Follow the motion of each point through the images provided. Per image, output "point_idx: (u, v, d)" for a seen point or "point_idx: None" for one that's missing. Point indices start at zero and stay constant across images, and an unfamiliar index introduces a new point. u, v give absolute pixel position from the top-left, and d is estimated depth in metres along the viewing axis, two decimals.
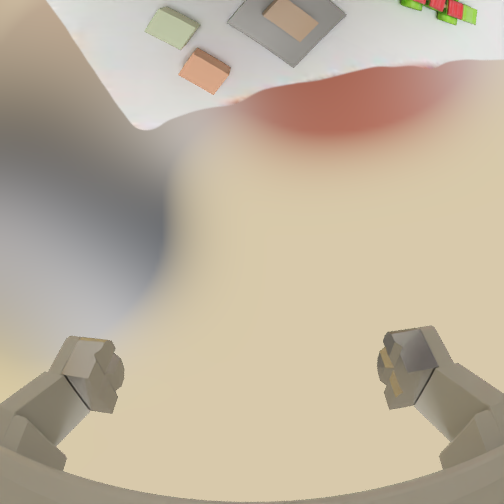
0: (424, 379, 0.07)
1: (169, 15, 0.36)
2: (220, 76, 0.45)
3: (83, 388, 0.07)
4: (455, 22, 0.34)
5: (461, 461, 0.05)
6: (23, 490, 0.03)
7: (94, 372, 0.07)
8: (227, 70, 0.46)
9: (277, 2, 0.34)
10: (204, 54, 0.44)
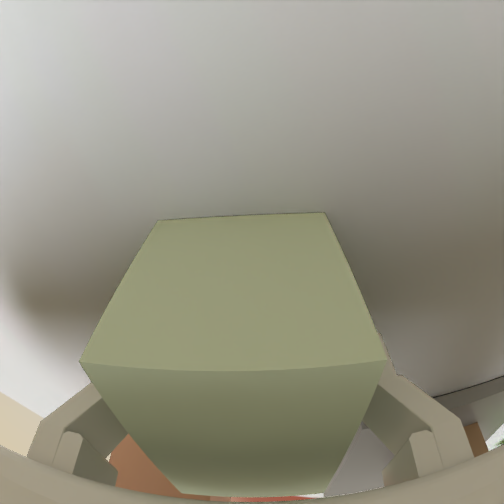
0: None
1: (347, 430, 0.05)
2: None
3: None
4: None
5: (398, 481, 0.05)
6: (23, 490, 0.03)
7: None
8: (229, 498, 0.14)
9: None
10: None
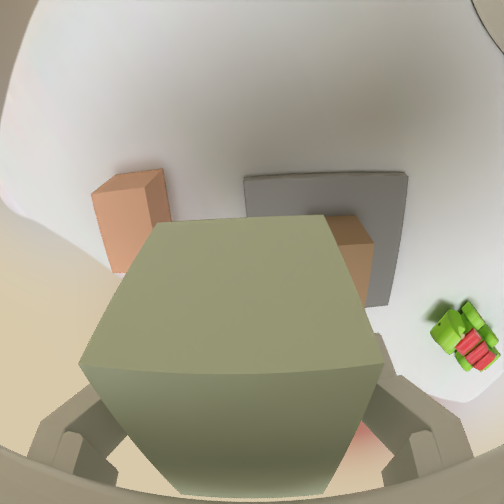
0: None
1: (345, 433, 0.05)
2: None
3: None
4: None
5: (398, 481, 0.05)
6: (23, 490, 0.03)
7: None
8: None
9: (356, 246, 0.22)
10: (160, 194, 0.24)
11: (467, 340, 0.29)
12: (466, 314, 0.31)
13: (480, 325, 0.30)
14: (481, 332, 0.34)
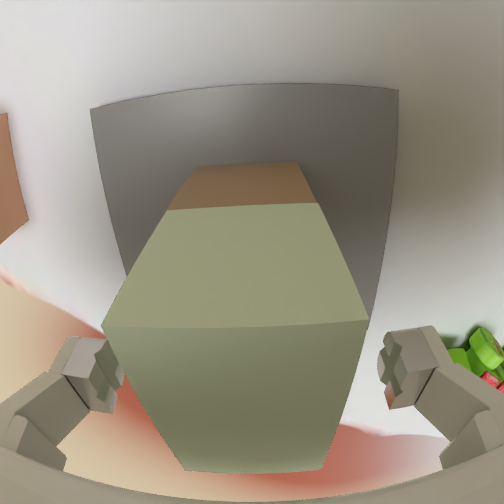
0: (424, 379, 0.07)
1: (339, 394, 0.06)
2: None
3: (83, 388, 0.07)
4: None
5: (461, 461, 0.05)
6: (23, 490, 0.03)
7: (94, 372, 0.07)
8: None
9: None
10: None
11: None
12: (475, 350, 0.19)
13: (497, 363, 0.18)
14: (502, 360, 0.21)
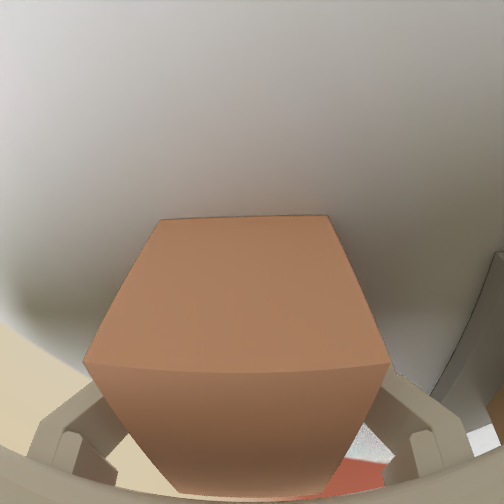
0: None
1: None
2: (291, 489, 0.07)
3: None
4: None
5: (399, 481, 0.05)
6: (23, 490, 0.03)
7: None
8: None
9: None
10: None
11: None
12: None
13: None
14: None
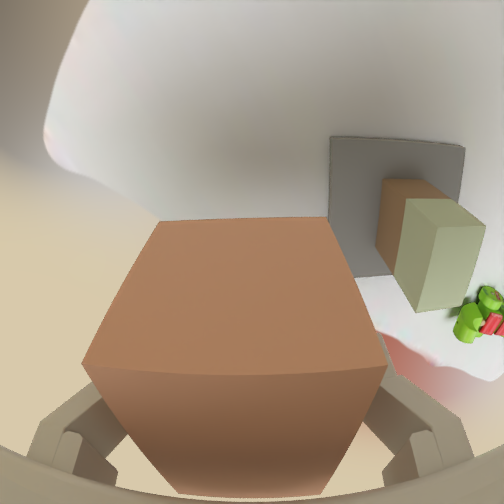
0: None
1: (476, 253, 0.18)
2: (290, 490, 0.07)
3: None
4: None
5: (398, 481, 0.05)
6: (23, 490, 0.03)
7: None
8: None
9: None
10: None
11: (489, 324, 0.31)
12: (482, 301, 0.32)
13: (498, 306, 0.31)
14: None
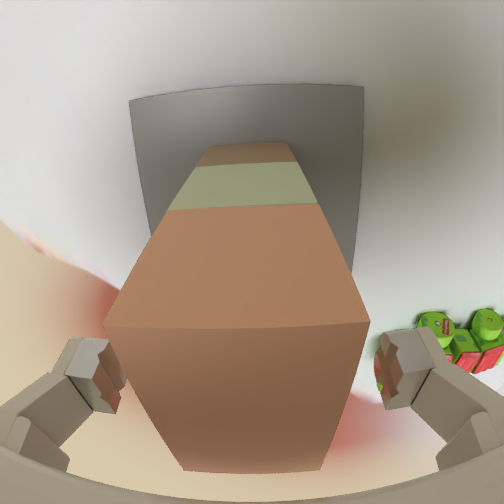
0: (421, 380, 0.07)
1: None
2: (290, 463, 0.08)
3: (86, 389, 0.07)
4: None
5: (457, 463, 0.05)
6: (23, 490, 0.03)
7: (98, 373, 0.07)
8: None
9: None
10: None
11: None
12: None
13: (444, 343, 0.23)
14: (473, 327, 0.25)
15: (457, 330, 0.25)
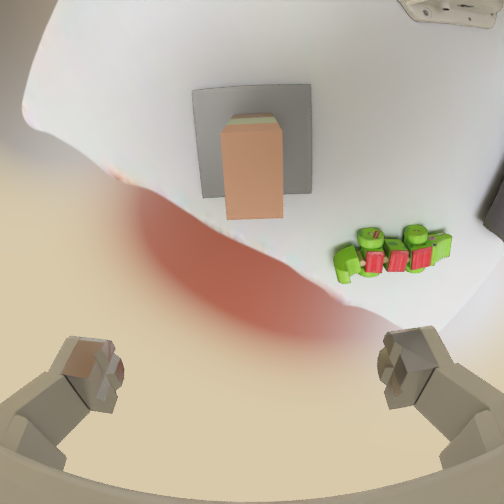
0: (425, 379, 0.07)
1: None
2: (270, 207, 0.25)
3: (83, 388, 0.07)
4: (422, 268, 0.42)
5: (461, 461, 0.05)
6: (23, 490, 0.03)
7: (94, 372, 0.07)
8: None
9: None
10: None
11: (370, 263, 0.41)
12: (359, 243, 0.42)
13: (375, 244, 0.40)
14: (404, 237, 0.42)
15: (391, 239, 0.42)
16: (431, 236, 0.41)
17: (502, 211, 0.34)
